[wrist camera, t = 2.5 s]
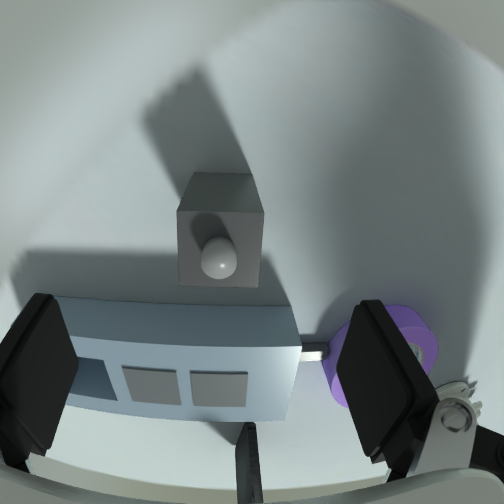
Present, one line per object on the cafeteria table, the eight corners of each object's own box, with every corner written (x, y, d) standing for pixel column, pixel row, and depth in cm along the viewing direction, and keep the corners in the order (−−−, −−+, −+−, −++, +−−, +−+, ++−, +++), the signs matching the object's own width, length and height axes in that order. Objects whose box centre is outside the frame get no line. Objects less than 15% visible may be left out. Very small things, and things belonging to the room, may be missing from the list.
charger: (252, 174, 22) (267, 223, 14) (248, 227, 24) (260, 301, 15) (194, 172, 21) (172, 220, 13) (194, 226, 23) (176, 299, 15)
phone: (242, 447, 38) (249, 544, 25) (234, 447, 38) (240, 544, 24) (255, 419, 34) (267, 533, 21) (246, 418, 34) (255, 533, 21)
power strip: (335, 305, 27) (353, 345, 23) (314, 380, 32) (325, 418, 27) (34, 294, 25) (9, 327, 20) (62, 367, 29) (46, 402, 25)
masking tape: (350, 295, 27) (364, 323, 24) (440, 309, 29) (458, 331, 26) (306, 382, 32) (312, 410, 29) (391, 384, 34) (402, 407, 31)
